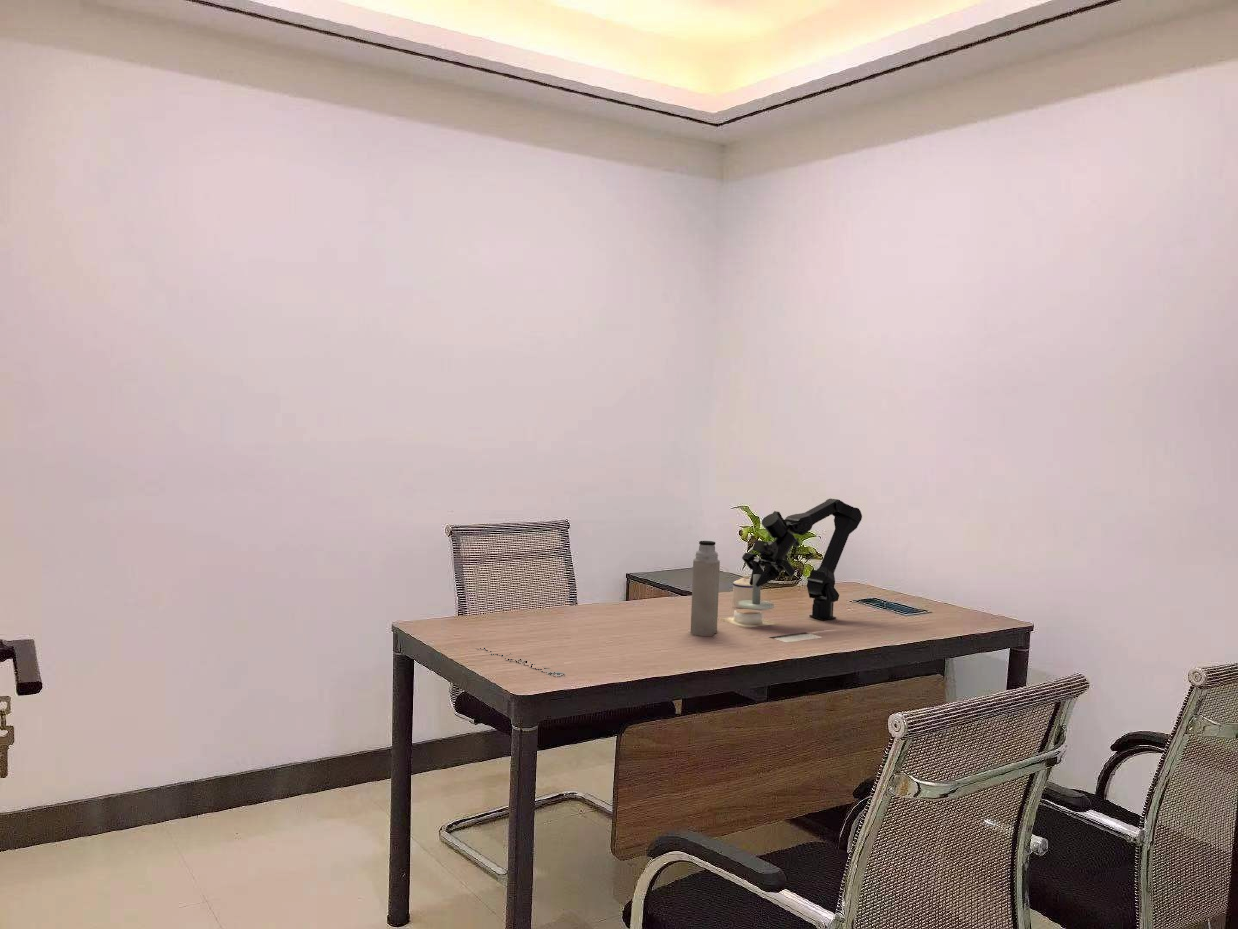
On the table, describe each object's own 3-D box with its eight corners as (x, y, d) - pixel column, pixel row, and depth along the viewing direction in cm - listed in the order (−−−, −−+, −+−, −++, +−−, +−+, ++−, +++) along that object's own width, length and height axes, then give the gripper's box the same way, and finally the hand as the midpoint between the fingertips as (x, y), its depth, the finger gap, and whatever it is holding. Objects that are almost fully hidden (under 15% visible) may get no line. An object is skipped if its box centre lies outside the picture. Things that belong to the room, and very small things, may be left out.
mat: (788, 628, 320) (788, 627, 320) (822, 638, 308) (822, 637, 308) (751, 633, 312) (751, 632, 312) (785, 643, 299) (785, 642, 299)
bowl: (749, 617, 331) (749, 608, 331) (768, 622, 323) (768, 613, 323) (727, 619, 326) (728, 610, 326) (746, 625, 318) (746, 615, 318)
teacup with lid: (763, 611, 348) (765, 577, 347) (740, 612, 344) (742, 578, 343) (744, 604, 358) (746, 571, 358) (722, 605, 354) (723, 572, 354)
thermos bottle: (694, 629, 315) (697, 538, 313) (719, 632, 312) (723, 540, 311) (687, 634, 307) (691, 541, 306) (713, 637, 305) (717, 543, 303)
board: (749, 618, 334) (750, 615, 334) (779, 626, 323) (779, 623, 323) (716, 622, 327) (716, 619, 327) (745, 630, 315) (745, 627, 315)
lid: (767, 602, 326) (768, 572, 326) (778, 609, 316) (779, 577, 315) (734, 602, 324) (735, 571, 324) (744, 609, 314) (745, 577, 313)
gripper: (747, 527, 329) (720, 564, 323) (789, 534, 314) (762, 572, 308) (764, 550, 334) (737, 586, 328) (806, 558, 319) (779, 596, 313)
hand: (753, 585), depth 319 cm, fingers closed on lid, 2 cm apart
